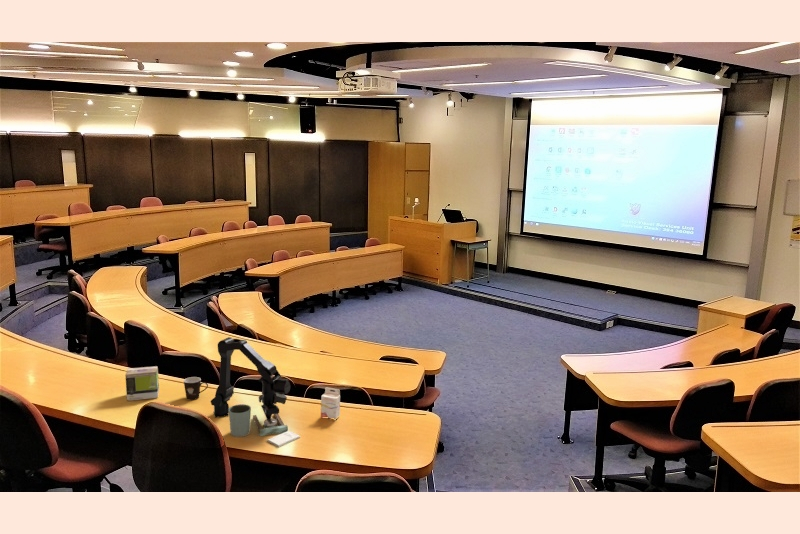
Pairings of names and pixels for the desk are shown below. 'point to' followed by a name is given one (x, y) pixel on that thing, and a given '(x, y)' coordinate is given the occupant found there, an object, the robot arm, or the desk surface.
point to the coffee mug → (193, 387)
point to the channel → (271, 430)
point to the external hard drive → (283, 438)
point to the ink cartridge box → (330, 403)
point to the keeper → (270, 423)
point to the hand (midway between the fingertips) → (268, 420)
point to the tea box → (142, 383)
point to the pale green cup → (239, 420)
